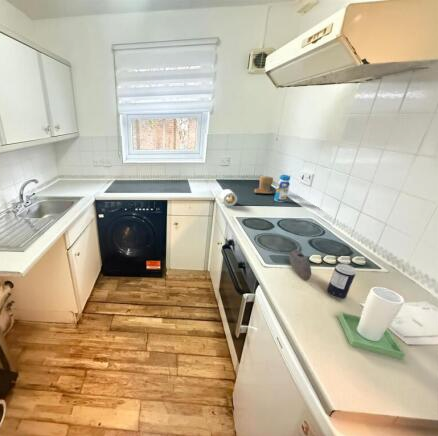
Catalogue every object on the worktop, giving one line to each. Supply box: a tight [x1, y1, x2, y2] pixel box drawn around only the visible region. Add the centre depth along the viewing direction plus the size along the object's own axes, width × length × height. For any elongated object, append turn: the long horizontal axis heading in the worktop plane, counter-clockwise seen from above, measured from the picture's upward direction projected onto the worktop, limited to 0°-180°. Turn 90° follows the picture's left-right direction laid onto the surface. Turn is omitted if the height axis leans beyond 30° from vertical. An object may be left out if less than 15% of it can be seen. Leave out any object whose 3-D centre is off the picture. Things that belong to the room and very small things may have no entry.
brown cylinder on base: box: [254, 175, 274, 195], centre depth 204 cm, size 15×12×15 cm
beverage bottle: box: [273, 174, 291, 203], centre depth 183 cm, size 8×8×20 cm
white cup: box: [357, 286, 405, 341], centre depth 67 cm, size 7×7×15 cm
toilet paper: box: [219, 188, 238, 207], centre depth 178 cm, size 10×10×10 cm
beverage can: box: [326, 263, 356, 300], centre depth 85 cm, size 6×6×12 cm
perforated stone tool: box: [288, 249, 312, 281], centre depth 98 cm, size 15×5×7 cm, turn 168°
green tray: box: [337, 311, 406, 360], centre depth 70 cm, size 11×12×2 cm
